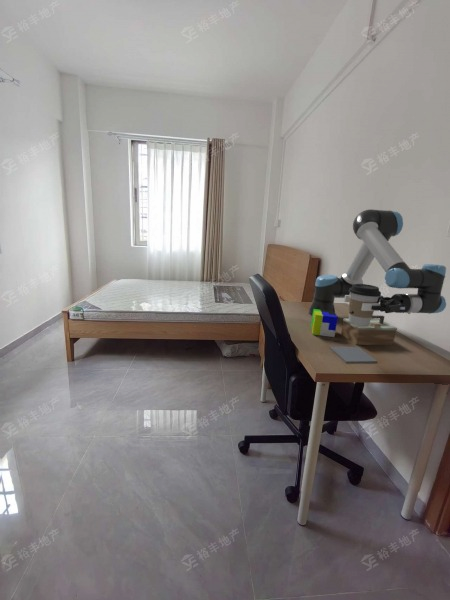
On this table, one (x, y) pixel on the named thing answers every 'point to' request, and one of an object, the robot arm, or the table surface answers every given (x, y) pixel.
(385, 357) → the table surface
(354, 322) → the coffee cup
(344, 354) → the slate mat
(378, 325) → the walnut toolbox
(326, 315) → the puzzle toy
